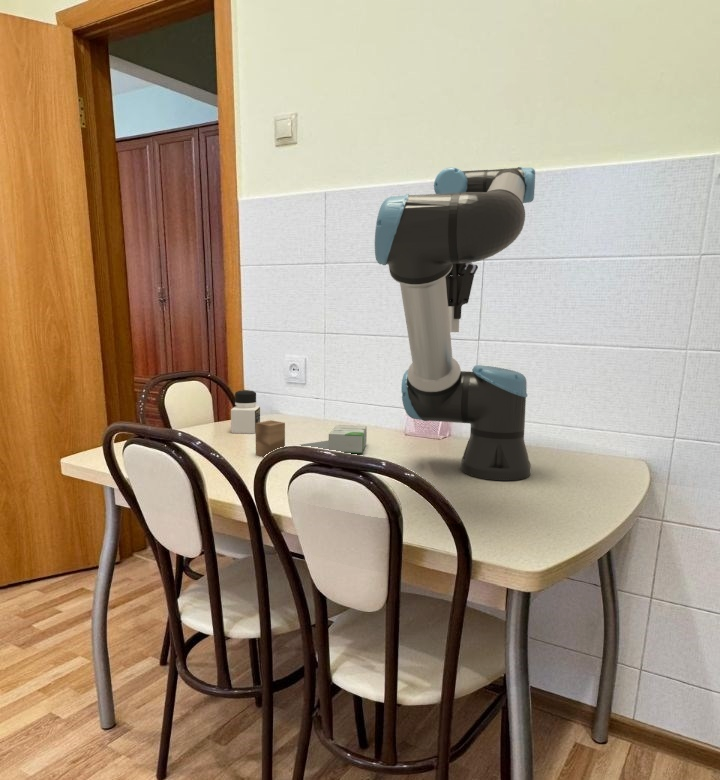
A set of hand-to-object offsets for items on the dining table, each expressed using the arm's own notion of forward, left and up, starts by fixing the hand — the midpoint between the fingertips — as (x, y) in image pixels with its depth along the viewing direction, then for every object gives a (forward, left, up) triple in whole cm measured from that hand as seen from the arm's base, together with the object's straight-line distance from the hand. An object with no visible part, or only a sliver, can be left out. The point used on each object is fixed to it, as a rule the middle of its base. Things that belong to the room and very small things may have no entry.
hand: (452, 332), depth 144 cm
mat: (+17, +30, -30) cm, 46 cm away
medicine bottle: (+48, +35, -31) cm, 67 cm away
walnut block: (+19, +43, -31) cm, 56 cm away
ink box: (+9, +27, -28) cm, 40 cm away
